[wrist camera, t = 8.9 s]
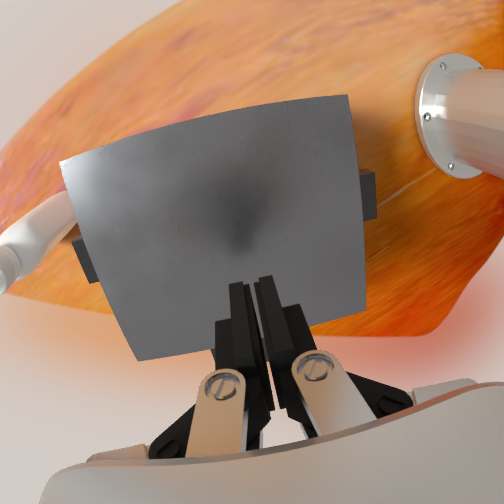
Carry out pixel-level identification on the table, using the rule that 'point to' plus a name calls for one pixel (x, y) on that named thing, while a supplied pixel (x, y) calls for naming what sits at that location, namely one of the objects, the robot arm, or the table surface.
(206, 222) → the lid
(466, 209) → the table surface
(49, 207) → the eye dropper bottle
